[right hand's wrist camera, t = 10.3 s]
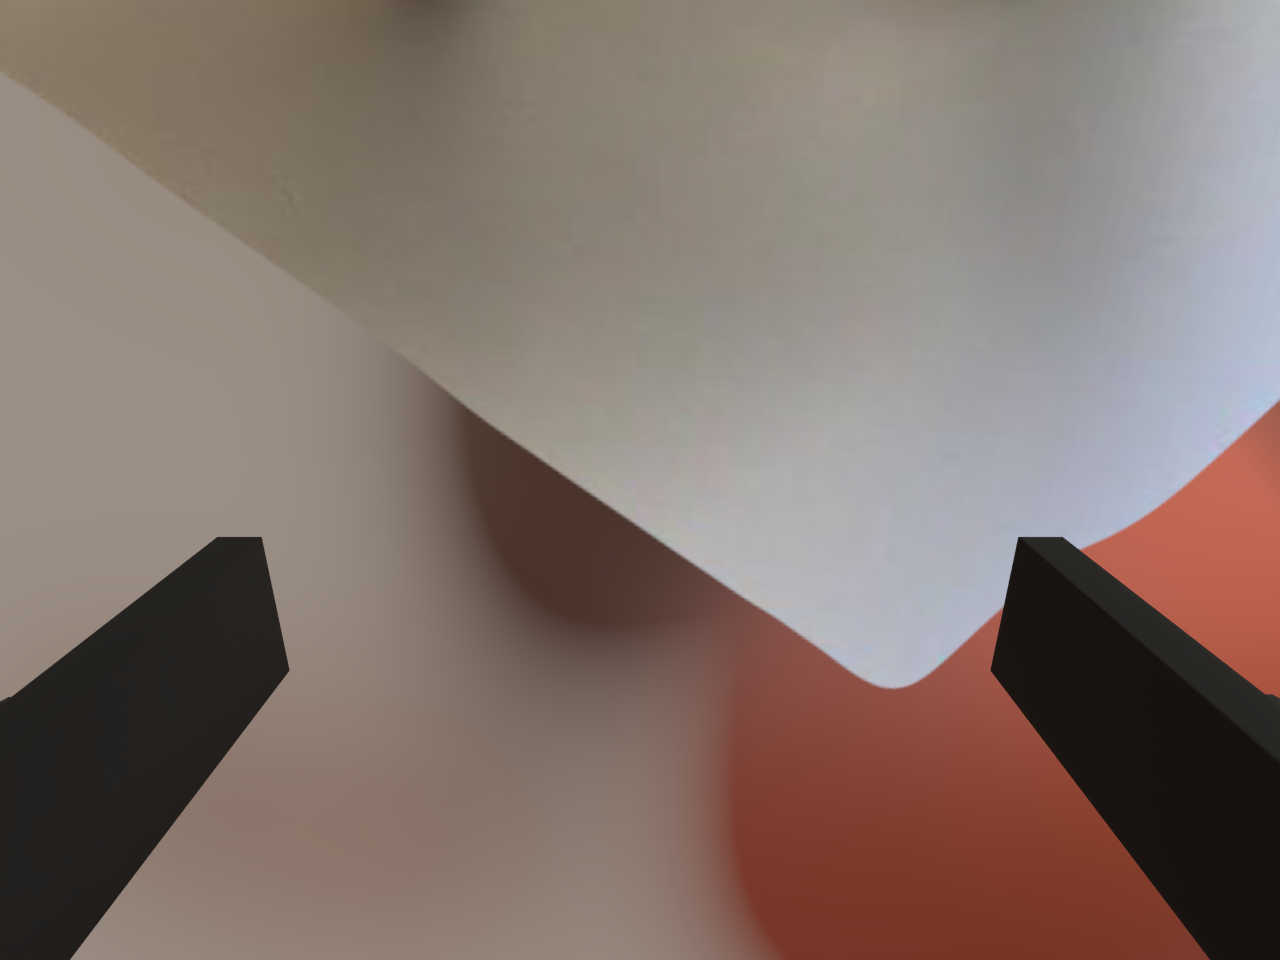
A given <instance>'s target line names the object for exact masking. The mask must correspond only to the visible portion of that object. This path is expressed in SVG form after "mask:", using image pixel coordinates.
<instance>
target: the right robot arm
mask: <svg viewBox="0 0 1280 960" xmlns="http://www.w3.org/2000/svg"><path fill="white" fill-rule="evenodd" d="M288 672H289V666H288V661H287V656H286V651H285V647H284V642H283V637H282V632H281V628H280V623H279V618H278V613H277V608H276V604H275V599H274V594H273V589H272V585H271V580H270V575H269V570H268V565H267V561H266V556H265V551H264V546H263V541H262V537H217V538H216V539H214V540H213V541H212V542H210V543H209V544H208V545H207V546H205V547H204V548H203V549H201V550H200V551H199V552H198V553H196V554H195V555H194V556H192V557H191V558H190V559H189V560H187V561H186V562H185V563H183V564H182V565H181V566H180V567H178V568H177V569H176V570H174V571H173V572H172V573H171V574H169V575H168V576H167V577H165V578H164V579H163V580H162V581H160V582H159V583H158V584H156V585H155V586H154V587H153V588H151V589H150V590H149V591H147V592H146V593H145V594H144V595H142V596H141V597H140V598H138V599H137V600H136V601H135V602H133V603H132V604H131V605H129V606H128V607H127V608H125V609H124V610H123V611H122V612H120V613H119V614H118V615H116V616H115V617H114V618H113V619H111V620H110V621H109V622H108V623H106V624H105V625H104V626H102V627H101V628H100V629H98V630H97V631H96V632H95V633H93V634H92V635H91V636H89V637H88V638H87V639H86V640H84V641H83V642H82V643H80V644H79V645H78V646H77V647H75V648H74V649H73V650H71V651H70V652H69V653H68V654H66V655H65V656H64V657H62V658H61V659H60V660H59V661H57V662H56V663H55V664H53V665H52V666H51V667H50V668H48V669H47V670H46V671H44V672H43V673H42V674H41V675H39V676H38V677H37V678H35V679H34V680H33V681H32V682H30V683H29V684H28V685H26V686H25V687H24V688H23V689H21V690H20V691H19V692H17V693H16V694H15V695H14V696H12V697H8V698H6V699H4V700H2V701H0V960H70V959H71V958H72V956H73V955H74V954H75V952H76V951H77V950H78V948H79V947H80V946H81V944H82V943H83V942H84V940H85V939H86V938H87V936H88V935H89V934H90V933H91V931H92V930H93V928H94V927H95V926H96V925H97V923H98V922H99V921H100V919H101V918H102V917H103V915H104V914H105V913H106V911H107V910H108V909H109V908H110V906H111V905H112V904H113V902H114V901H115V900H116V898H117V897H118V896H119V894H120V893H121V892H122V890H123V889H124V888H125V886H126V885H127V884H128V882H129V881H130V880H131V879H132V877H133V876H134V875H135V873H136V872H137V871H138V869H139V868H140V867H141V865H142V864H143V863H144V861H145V860H146V859H147V857H148V856H149V855H150V854H151V852H152V851H153V850H154V848H155V847H156V846H157V844H158V843H159V842H160V840H161V839H162V838H163V836H164V835H165V834H166V832H167V831H168V830H169V828H170V827H171V826H172V825H173V823H174V822H175V820H176V819H177V818H178V817H179V815H180V814H181V813H182V811H183V810H184V809H185V807H186V806H187V805H188V803H189V802H190V801H191V799H192V798H193V797H194V796H195V794H196V793H197V792H198V790H199V789H200V788H201V786H202V785H203V784H204V782H205V781H206V780H207V778H208V777H209V776H210V774H211V773H212V772H213V771H214V769H215V768H216V767H217V765H218V764H219V763H220V761H221V760H222V759H223V757H224V756H225V755H226V753H227V752H228V751H229V749H230V748H231V747H232V746H233V744H234V743H235V742H236V740H237V739H238V738H239V736H240V735H241V734H242V732H243V731H244V730H245V728H246V727H247V726H248V724H249V723H250V722H251V721H252V719H253V718H254V716H255V715H256V714H257V713H258V711H259V710H260V709H261V707H262V706H263V705H264V703H265V702H266V701H267V699H268V698H269V697H270V695H271V694H272V693H273V692H274V690H275V689H276V688H277V686H278V685H279V684H280V682H281V681H282V680H283V678H284V677H285V676H286V674H287V673H288ZM991 672H992V673H993V674H994V676H995V677H996V678H997V680H998V681H999V682H1000V684H1001V685H1002V686H1003V688H1004V689H1005V690H1006V691H1007V693H1008V694H1009V695H1010V697H1011V698H1012V699H1013V701H1014V702H1015V703H1016V705H1017V706H1018V707H1019V709H1020V710H1021V711H1022V713H1023V714H1024V715H1025V717H1026V718H1027V719H1028V720H1029V722H1030V723H1031V724H1032V726H1033V727H1034V728H1035V730H1036V731H1037V732H1038V734H1039V735H1040V736H1041V738H1042V739H1043V740H1044V742H1045V743H1046V744H1047V745H1048V747H1049V748H1050V749H1051V751H1052V752H1053V753H1054V755H1055V756H1056V757H1057V759H1058V760H1059V761H1060V763H1061V764H1062V765H1063V767H1064V768H1065V769H1066V771H1067V772H1068V773H1069V775H1070V776H1071V777H1072V778H1073V780H1074V781H1075V782H1076V784H1077V785H1078V786H1079V788H1080V789H1081V790H1082V792H1083V793H1084V794H1085V796H1086V797H1087V798H1088V800H1089V801H1090V802H1091V803H1092V805H1093V806H1094V807H1095V809H1096V810H1097V811H1098V813H1099V814H1100V815H1101V817H1102V818H1103V819H1104V821H1105V822H1106V823H1107V825H1108V826H1109V827H1110V829H1111V830H1112V831H1113V832H1114V834H1115V835H1116V836H1117V838H1118V839H1119V840H1120V842H1121V843H1122V844H1123V846H1124V847H1125V848H1126V850H1127V851H1128V852H1129V854H1130V855H1131V856H1132V857H1133V859H1134V860H1135V861H1136V863H1137V864H1138V865H1139V867H1140V868H1141V869H1142V871H1143V872H1144V873H1145V875H1146V876H1147V877H1148V879H1149V880H1150V881H1151V883H1152V884H1153V885H1154V886H1155V888H1156V889H1157V890H1158V892H1159V893H1160V894H1161V896H1162V897H1163V898H1164V900H1165V901H1166V902H1167V904H1168V905H1169V906H1170V908H1171V909H1172V910H1173V911H1174V913H1175V914H1176V915H1177V917H1178V918H1179V919H1180V921H1181V922H1182V923H1183V925H1184V926H1185V927H1186V929H1187V930H1188V931H1189V932H1190V934H1191V935H1192V936H1193V938H1194V939H1195V940H1196V942H1197V943H1198V944H1199V946H1200V947H1201V948H1202V950H1203V951H1204V952H1205V954H1206V955H1207V956H1208V958H1209V959H1210V960H1280V698H1278V697H1276V696H1274V695H1271V694H1269V695H1267V694H1264V693H1263V692H1261V691H1260V690H1259V689H1257V688H1256V687H1255V686H1254V685H1252V684H1251V683H1250V682H1248V681H1247V680H1246V679H1245V678H1243V677H1242V676H1241V675H1239V674H1238V673H1237V672H1236V671H1234V670H1233V669H1232V668H1230V667H1229V666H1228V665H1227V664H1225V663H1224V662H1223V661H1221V660H1220V659H1219V658H1218V657H1216V656H1215V655H1214V654H1212V653H1211V652H1210V651H1208V650H1207V649H1206V648H1205V647H1203V646H1202V645H1201V644H1200V643H1198V642H1197V641H1196V640H1194V639H1193V638H1192V637H1191V636H1189V635H1188V634H1187V633H1185V632H1184V631H1183V630H1182V629H1180V628H1179V627H1178V626H1176V625H1175V624H1174V623H1172V622H1171V621H1170V620H1169V619H1167V618H1166V617H1165V616H1163V615H1162V614H1161V613H1160V612H1158V611H1157V610H1156V609H1154V608H1153V607H1152V606H1151V605H1149V604H1148V603H1147V602H1145V601H1144V600H1143V599H1142V598H1140V597H1139V596H1138V595H1136V594H1135V593H1134V592H1133V591H1131V590H1130V589H1129V588H1127V587H1126V586H1125V585H1124V584H1122V583H1121V582H1120V581H1118V580H1117V579H1116V578H1115V577H1113V576H1112V575H1111V574H1109V573H1108V572H1107V571H1106V570H1104V569H1103V568H1102V567H1100V566H1099V565H1098V564H1097V563H1095V562H1094V561H1093V560H1091V559H1090V558H1089V557H1088V556H1086V555H1085V554H1084V553H1082V552H1081V551H1080V550H1079V549H1077V548H1076V547H1075V546H1073V545H1072V544H1071V543H1070V542H1068V541H1067V540H1066V539H1064V538H1063V537H1018V541H1017V546H1016V551H1015V556H1014V561H1013V565H1012V570H1011V575H1010V580H1009V585H1008V589H1007V594H1006V599H1005V604H1004V608H1003V613H1002V618H1001V623H1000V628H999V632H998V637H997V642H996V647H995V652H994V656H993V661H992V666H991Z"/></svg>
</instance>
